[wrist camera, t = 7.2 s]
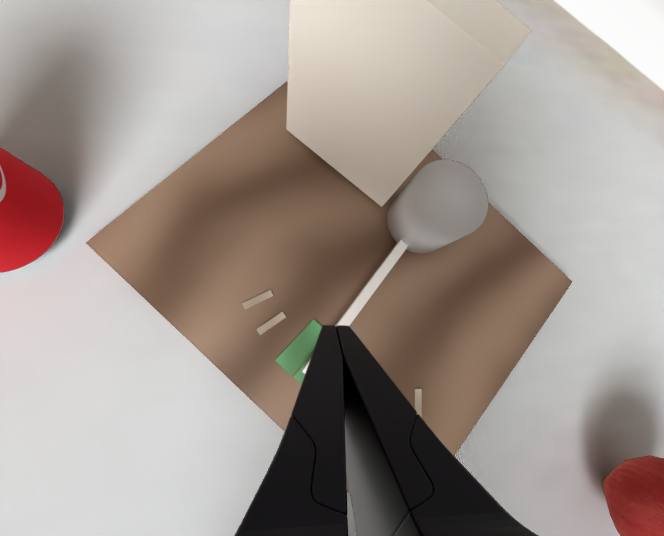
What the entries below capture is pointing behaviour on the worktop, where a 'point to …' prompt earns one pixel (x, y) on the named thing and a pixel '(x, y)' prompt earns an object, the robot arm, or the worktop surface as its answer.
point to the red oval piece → (637, 496)
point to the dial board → (326, 276)
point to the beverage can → (26, 213)
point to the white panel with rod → (397, 106)
